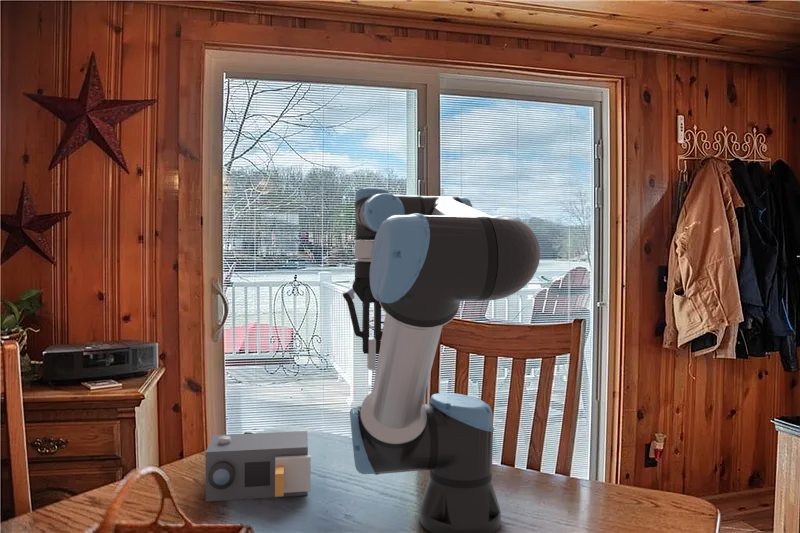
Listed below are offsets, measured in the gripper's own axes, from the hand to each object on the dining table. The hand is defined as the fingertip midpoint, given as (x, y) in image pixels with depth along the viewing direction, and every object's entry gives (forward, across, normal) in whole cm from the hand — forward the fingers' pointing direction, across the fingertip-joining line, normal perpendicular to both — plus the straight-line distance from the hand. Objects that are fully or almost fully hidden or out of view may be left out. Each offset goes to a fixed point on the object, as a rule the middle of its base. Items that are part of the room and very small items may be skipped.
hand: (371, 368), depth 126 cm
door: (+23, +17, +10) cm, 30 cm away
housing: (+24, +24, +2) cm, 34 cm away
